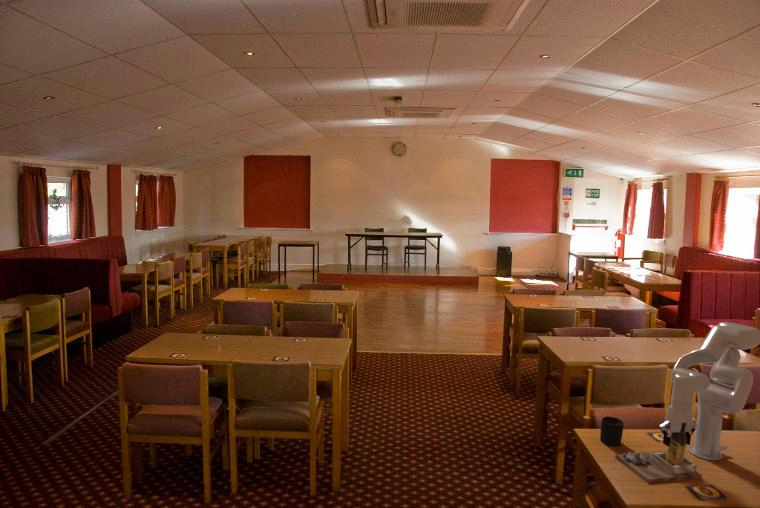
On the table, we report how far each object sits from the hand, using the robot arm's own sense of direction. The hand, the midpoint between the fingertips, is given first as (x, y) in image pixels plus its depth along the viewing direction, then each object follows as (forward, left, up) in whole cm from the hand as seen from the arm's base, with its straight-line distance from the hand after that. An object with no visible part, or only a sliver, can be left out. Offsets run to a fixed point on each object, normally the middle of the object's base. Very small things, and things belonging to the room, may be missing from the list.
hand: (676, 444), depth 228 cm
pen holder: (+11, -26, -11) cm, 30 cm away
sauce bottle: (0, 0, -10) cm, 10 cm away
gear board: (+6, -2, -11) cm, 13 cm away
